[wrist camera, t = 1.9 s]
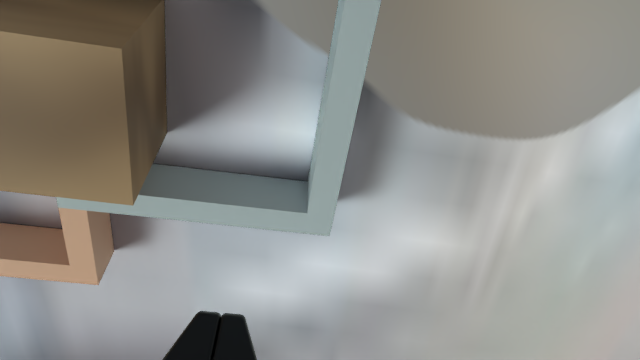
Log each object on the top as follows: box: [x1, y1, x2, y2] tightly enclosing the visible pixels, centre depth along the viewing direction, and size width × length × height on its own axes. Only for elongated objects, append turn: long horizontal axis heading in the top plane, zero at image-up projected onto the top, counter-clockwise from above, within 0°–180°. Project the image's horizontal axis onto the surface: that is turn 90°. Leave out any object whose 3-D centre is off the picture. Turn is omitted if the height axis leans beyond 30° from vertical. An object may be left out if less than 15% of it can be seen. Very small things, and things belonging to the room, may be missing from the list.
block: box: [0, 0, 167, 206], centre depth 15 cm, size 5×6×4 cm
